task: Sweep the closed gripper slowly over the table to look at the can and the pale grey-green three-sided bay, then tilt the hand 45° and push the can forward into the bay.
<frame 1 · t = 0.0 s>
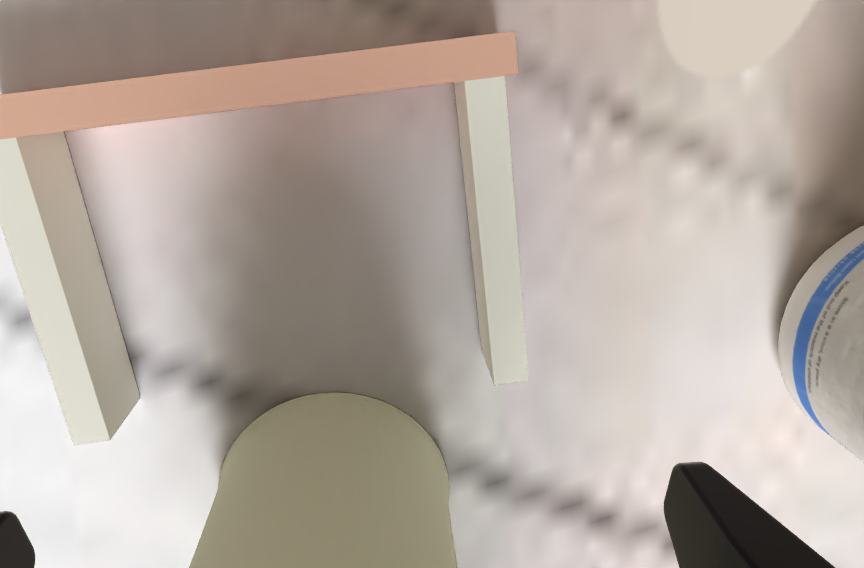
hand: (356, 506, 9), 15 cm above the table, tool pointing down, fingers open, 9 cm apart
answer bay: (295, 287, 24), on the table
can: (336, 490, 27), on the table
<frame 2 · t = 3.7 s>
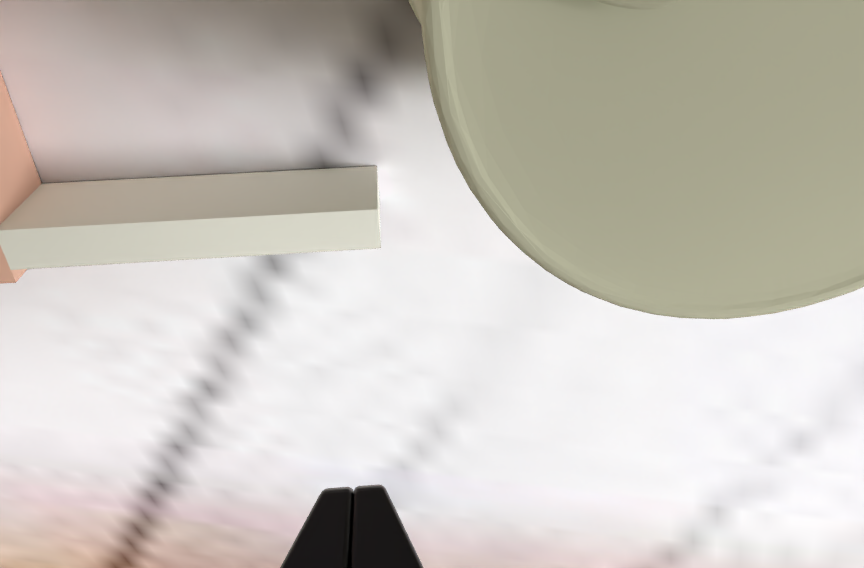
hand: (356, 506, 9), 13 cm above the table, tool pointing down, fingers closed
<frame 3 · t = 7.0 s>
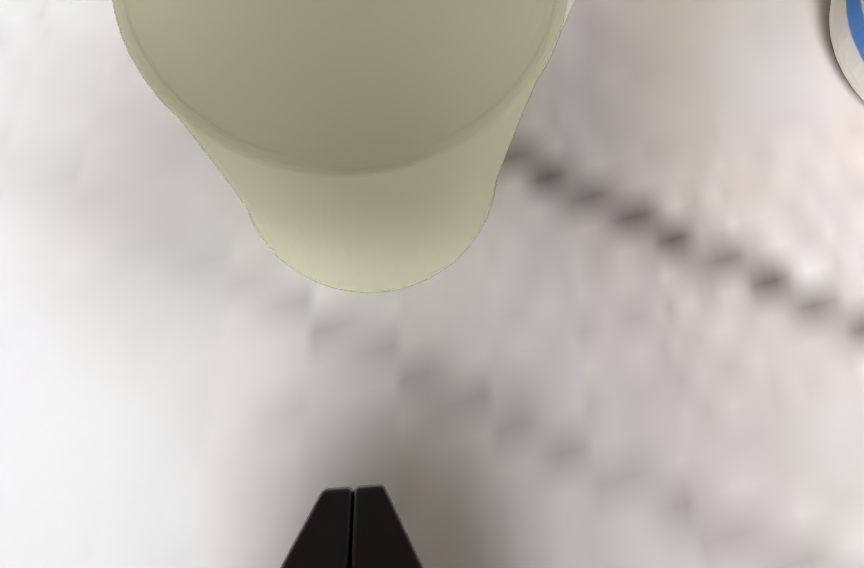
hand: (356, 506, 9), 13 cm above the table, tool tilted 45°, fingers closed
can: (370, 171, 25), on the table
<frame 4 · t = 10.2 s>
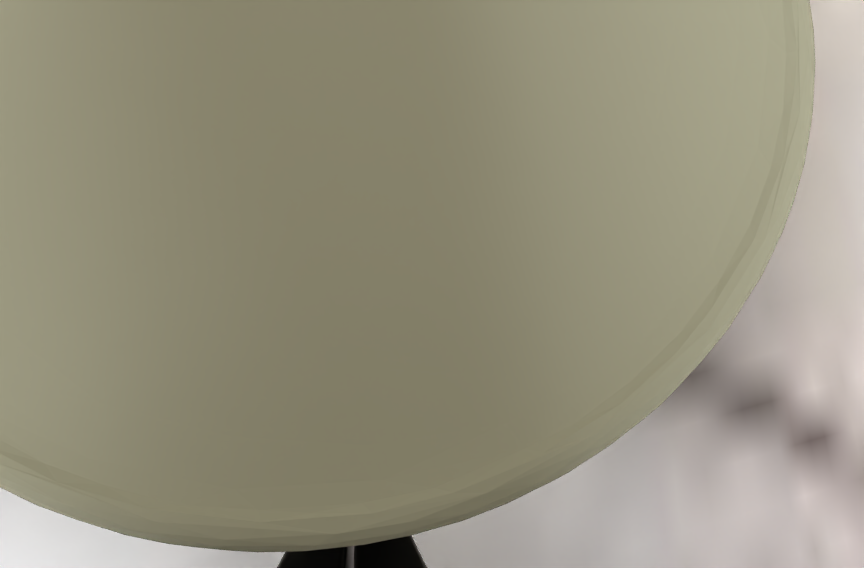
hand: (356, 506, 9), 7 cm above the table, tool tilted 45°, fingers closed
can: (365, 288, 17), on the table, touching gripper
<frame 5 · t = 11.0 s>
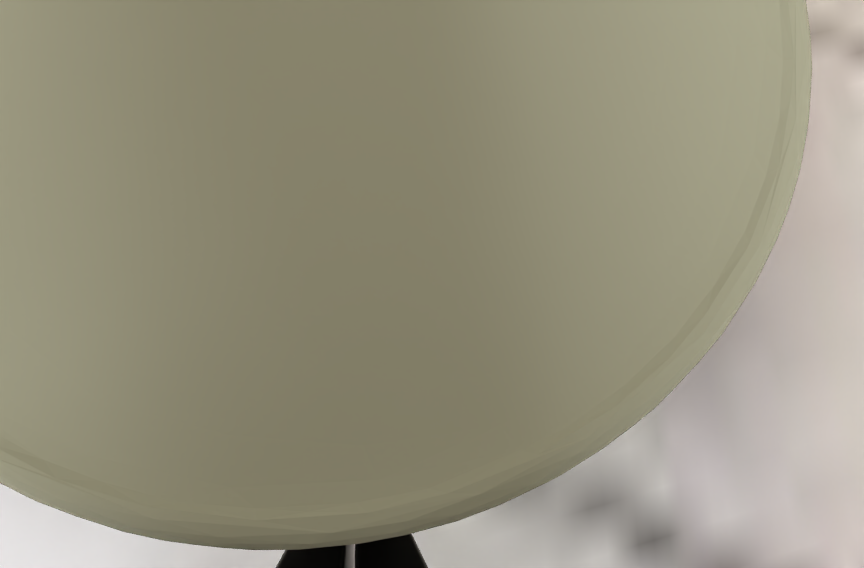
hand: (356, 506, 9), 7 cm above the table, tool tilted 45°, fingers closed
can: (366, 289, 17), on the table, touching gripper
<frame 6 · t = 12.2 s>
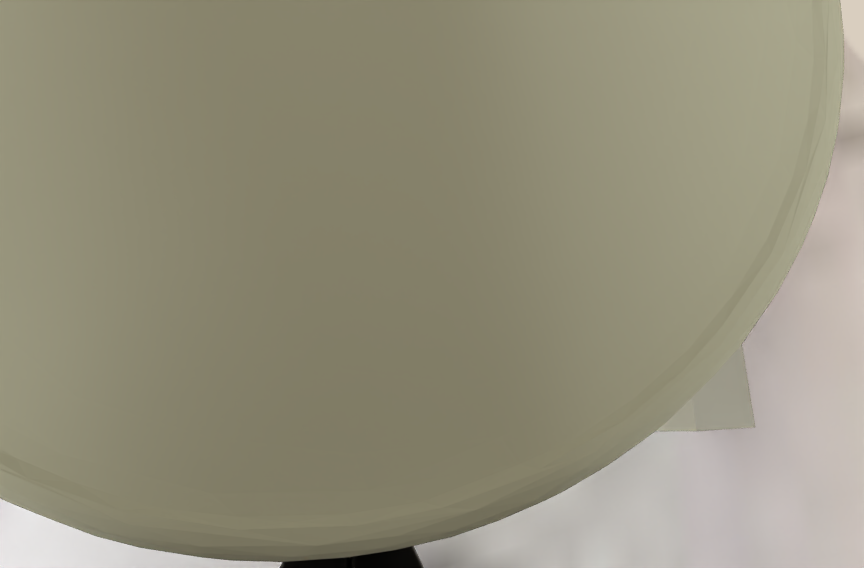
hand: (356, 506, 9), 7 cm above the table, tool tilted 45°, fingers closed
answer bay: (367, 303, 17), on the table
can: (368, 282, 17), on the table, touching gripper
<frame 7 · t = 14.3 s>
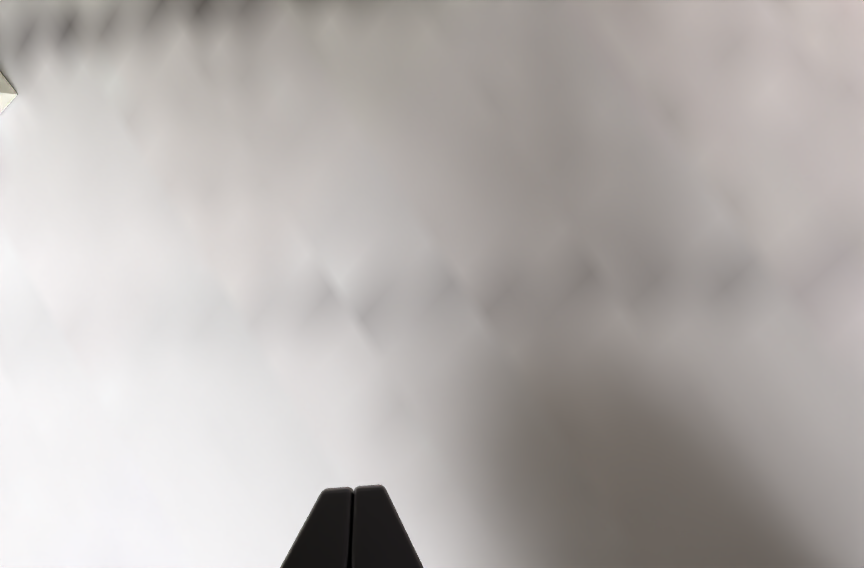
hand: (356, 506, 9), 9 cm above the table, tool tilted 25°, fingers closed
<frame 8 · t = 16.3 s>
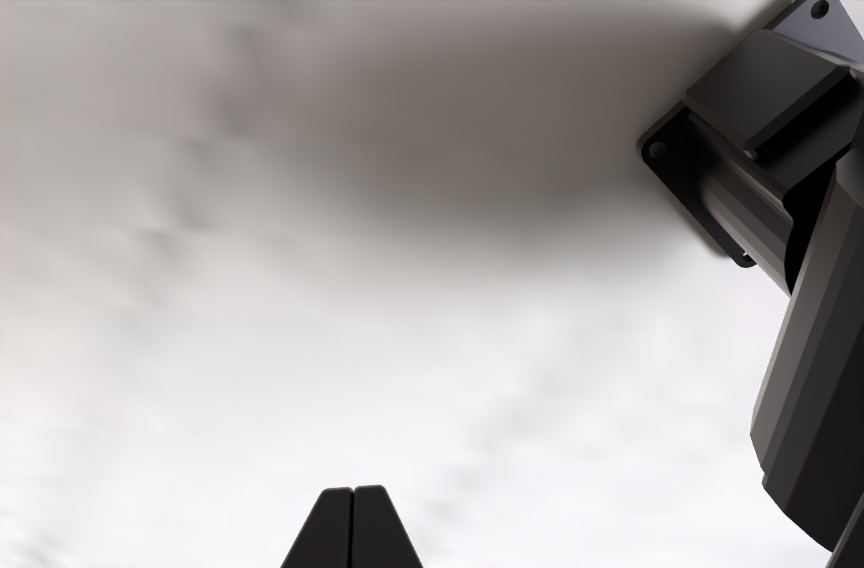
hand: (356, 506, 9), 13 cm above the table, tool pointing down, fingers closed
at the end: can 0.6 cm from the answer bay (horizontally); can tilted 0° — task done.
